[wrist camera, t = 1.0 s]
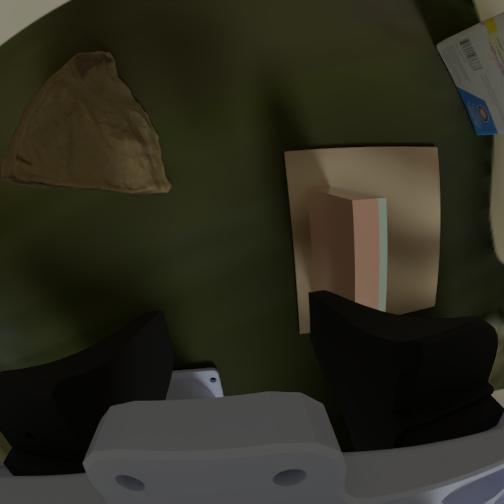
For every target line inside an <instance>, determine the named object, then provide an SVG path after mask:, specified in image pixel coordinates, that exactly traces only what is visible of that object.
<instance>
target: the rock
mask: <svg viewBox="0 0 504 504" xmlns="http://www.w3.org/2000/svg"><path fill="white" fill-rule="evenodd" d="M158 138H159V135H158V134H157V133H156V131H155V129H154V128H153V126H152V124H151V122H150V120H149V117H148V115H147V113H146V112H145V111H144V110H143V109H142V107H141V105H140V104H139V103H138V102H136V101H135V99H134V97H133V96H132V95H131V90H130V89H129V88H128V87H127V85H126V84H125V83H124V82H123V81H122V80H121V79H120V78H119V77H118V74H117V68H116V64H115V59H114V57H113V56H112V55H111V53H110V52H103V51H95V52H82V53H78V54H76V55H75V56H73V57H72V58H71V59H70V60H69V61H68V62H67V63H66V64H65V65H64V66H63V67H62V68H61V69H60V70H58V71H57V72H55V73H54V74H52V75H51V76H50V77H49V78H48V80H47V81H46V82H45V84H44V85H43V86H42V88H41V89H40V90H39V91H38V92H37V93H36V94H35V96H34V97H33V98H32V99H31V100H30V102H29V103H28V104H27V105H26V107H25V108H24V110H23V114H22V119H21V121H20V123H19V125H18V126H17V128H16V130H15V132H14V134H13V137H12V139H11V142H10V144H9V147H8V150H7V152H6V154H5V156H4V159H3V162H2V181H5V182H11V183H16V184H20V185H24V186H30V187H39V188H57V189H69V188H79V189H86V190H94V189H99V190H103V191H116V192H122V193H125V194H134V195H149V194H155V193H160V192H166V193H168V191H169V190H170V188H171V183H170V182H169V181H168V179H167V177H166V175H165V170H164V165H163V161H162V158H161V148H160V145H159V142H158Z"/></svg>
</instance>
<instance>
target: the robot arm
mask: <svg viewBox="0 0 504 504" xmlns="http://www.w3.org/2000/svg"><path fill="white" fill-rule="evenodd" d="M308 295H309V315H310V339H311V342H312V345H313V348H314V352H315V355H316V358H317V360H318V362H319V364H320V366H321V368H322V370H323V372H324V374H325V376H326V378H327V380H328V382H329V384H330V386H331V388H332V390H333V392H334V394H335V396H336V398H337V400H338V402H339V405H340V407H341V410H342V413H343V416H344V419H345V422H346V425H347V428H348V431H349V434H350V437H351V441H352V444H353V447H354V451H355V452H341V449H340V447H339V444H338V441H337V439H336V436H335V433H334V431H333V428H332V426H331V423H330V420H329V418H328V415H327V412H326V410H325V407H324V405H323V404H322V403H320V402H318V401H316V400H314V399H312V398H310V397H309V396H307V395H305V394H303V393H298V392H270V391H268V392H261V393H253V394H245V395H236V396H226V397H224V394H223V390H222V386H221V381H220V377H219V372H218V370H217V369H216V368H201V369H188V370H174V371H173V362H174V353H173V349H172V346H171V342H170V338H169V334H168V331H167V327H166V323H165V319H164V315H163V311H153V312H146V313H144V314H142V315H140V316H139V317H137V318H136V319H134V320H133V321H131V322H130V323H128V324H127V325H125V326H124V327H122V328H121V329H119V330H118V331H116V332H115V333H113V334H111V335H110V336H108V337H107V338H105V339H103V340H102V341H100V342H98V343H96V344H95V345H93V346H91V347H89V348H87V349H85V350H83V351H80V352H78V353H76V354H73V355H71V356H68V357H65V358H62V359H60V360H57V361H54V362H50V363H47V364H43V365H39V366H34V367H29V368H23V369H16V370H9V371H2V372H0V431H1V433H2V434H3V435H4V437H5V438H6V440H7V441H8V442H9V444H10V445H11V447H12V449H11V450H10V452H9V454H8V455H7V457H6V459H5V461H4V462H1V461H0V504H502V503H504V408H503V407H502V406H501V405H500V404H499V403H498V402H497V401H496V400H495V399H494V398H493V397H492V396H491V394H492V393H493V391H494V389H493V387H492V386H491V385H490V384H489V383H488V379H489V376H490V373H491V370H492V367H493V364H494V360H495V357H496V353H497V348H498V335H497V333H496V330H495V328H494V327H493V326H491V325H490V324H489V323H488V322H486V321H485V320H483V319H482V318H481V317H479V316H468V317H458V318H420V317H411V316H403V315H397V314H393V313H388V312H384V311H380V310H377V309H374V308H371V307H368V306H365V305H362V304H359V303H357V302H354V301H352V300H349V299H347V298H344V297H342V296H340V295H337V294H335V293H332V292H330V291H326V290H320V291H314V292H308ZM212 377H213V378H216V379H214V380H212V379H211V378H212Z"/></svg>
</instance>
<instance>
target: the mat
mask: <svg viewBox="0 0 504 504" xmlns="http://www.w3.org/2000/svg"><path fill="white" fill-rule="evenodd" d="M284 156H285V165H286V175H287V184H288V194H289V204H290V215H291V226H292V237H293V249H294V261H295V274H296V288H297V302H298V318H299V333H300V334H305V333H310V315H309V295H308V292H314V277H313V260H312V244H311V231H310V218H309V206H308V194H307V188H314V187H325V186H332V187H338V188H343V189H348V190H353V191H358V192H363V193H367V194H372V195H377V196H381V197H386V204H387V290H386V309H385V312H388V313H393V314H397V315H400V314H405V313H409V312H413V311H417V310H421V309H425V308H429V307H433V306H435V299H436V290H437V279H438V266H439V248H440V180H439V163H438V150H437V147H351V148H329V149H312V150H298V151H286V152H284Z"/></svg>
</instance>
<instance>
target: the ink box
mask: <svg viewBox="0 0 504 504" xmlns="http://www.w3.org/2000/svg"><path fill="white" fill-rule="evenodd" d="M436 48H437V50H438V52H439V53H440V55H441V57H442V59H443V61H444V63H445V65H446V66H447V68H448V70H449V72H450V74H451V76H452V78H453V80H454V83H455V85H456V87H457V89H458V91H459V93H460V95H461V98H462V100H463V102H464V104H465V107H466V109H467V111H468V114H469V116H470V119H471V121H472V124H473V126H474V129H475V132H476V134H477V135H489V134H504V12H503V13H501V14H498V15H496V16H494V17H491V18H489V19H487V20H485V21H482V22H480V23H478V24H476V25H474V26H472V27H470V28H468V29H466V30H464V31H461V32H459V33H457V34H455V35H453V36H451V37H449V38H447V39H445V40H443V41H441V42H440V43H438V44H437V45H436Z"/></svg>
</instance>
